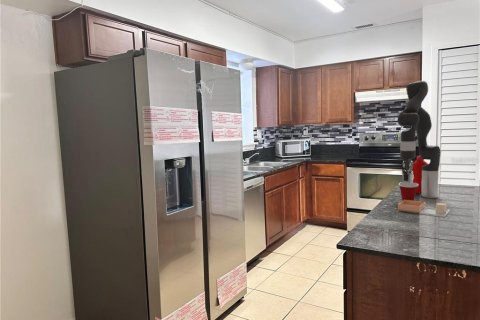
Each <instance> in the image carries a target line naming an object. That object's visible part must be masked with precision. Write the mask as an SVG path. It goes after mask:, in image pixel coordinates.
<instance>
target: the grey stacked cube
mask: <svg viewBox="0 0 480 320" xmlns="http://www.w3.org/2000/svg"><path fill="white" fill-rule="evenodd" d="M401 177H402V178H401V182H406V183H411V182H413V178H414V175H413V172H411V173H409V174H408V181H404V174H403V173H401Z"/></svg>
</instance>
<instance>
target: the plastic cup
mask: <svg viewBox="0 0 480 320" xmlns="http://www.w3.org/2000/svg"><path fill="white" fill-rule="evenodd" d="M398 186H399V191H400V195H401V201H403V200H411V201H415V197H416V194H417V193H416V190H417V187H418V184H417V183H413V181H412V182H411V183H406V182H402V181H401V182H399V183H398Z"/></svg>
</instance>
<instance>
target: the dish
mask: <svg viewBox="0 0 480 320" xmlns="http://www.w3.org/2000/svg"><path fill="white" fill-rule="evenodd" d="M425 207H426V201H419V200H414V201H411V200H403V201H402V200H401V201H400V202H398V203H397V211H400V212H401V211H402V212H408V213H415V214H420V211H422V210H423V209H424V208H425Z"/></svg>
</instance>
